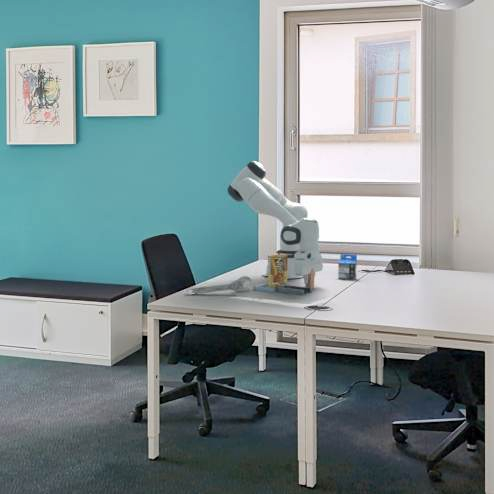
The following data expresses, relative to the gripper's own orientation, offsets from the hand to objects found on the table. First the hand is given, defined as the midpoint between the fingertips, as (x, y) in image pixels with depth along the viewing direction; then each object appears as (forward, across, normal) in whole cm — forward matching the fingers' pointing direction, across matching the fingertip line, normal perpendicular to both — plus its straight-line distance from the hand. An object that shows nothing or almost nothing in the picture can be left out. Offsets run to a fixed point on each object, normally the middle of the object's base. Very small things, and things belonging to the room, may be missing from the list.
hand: (309, 282), depth 331 cm
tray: (+4, +12, -13) cm, 18 cm away
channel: (+4, +12, -1) cm, 13 cm away
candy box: (+4, -4, -20) cm, 21 cm away
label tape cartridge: (+4, -44, -3) cm, 44 cm away
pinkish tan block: (+3, 0, 0) cm, 3 cm away
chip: (+4, +12, -12) cm, 17 cm away
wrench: (+4, +29, -30) cm, 42 cm away
